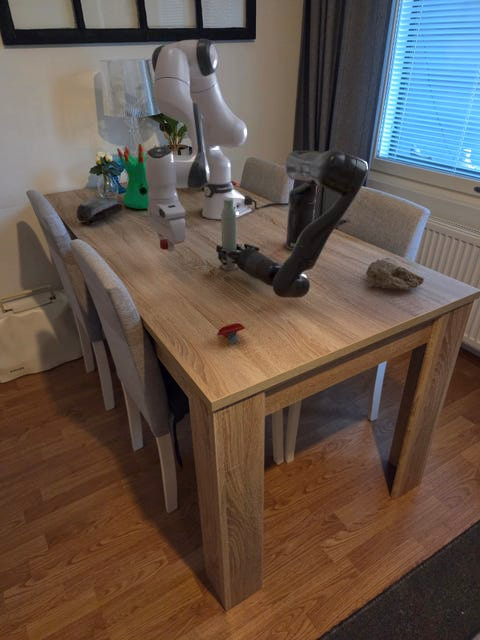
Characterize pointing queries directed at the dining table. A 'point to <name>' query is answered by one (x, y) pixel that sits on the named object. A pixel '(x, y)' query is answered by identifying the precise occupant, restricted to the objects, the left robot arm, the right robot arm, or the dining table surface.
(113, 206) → the rock
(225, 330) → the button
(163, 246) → the cap
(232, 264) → the bottle
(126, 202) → the toy
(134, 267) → the dining table surface
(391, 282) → the artifact
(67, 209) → the dining table surface
